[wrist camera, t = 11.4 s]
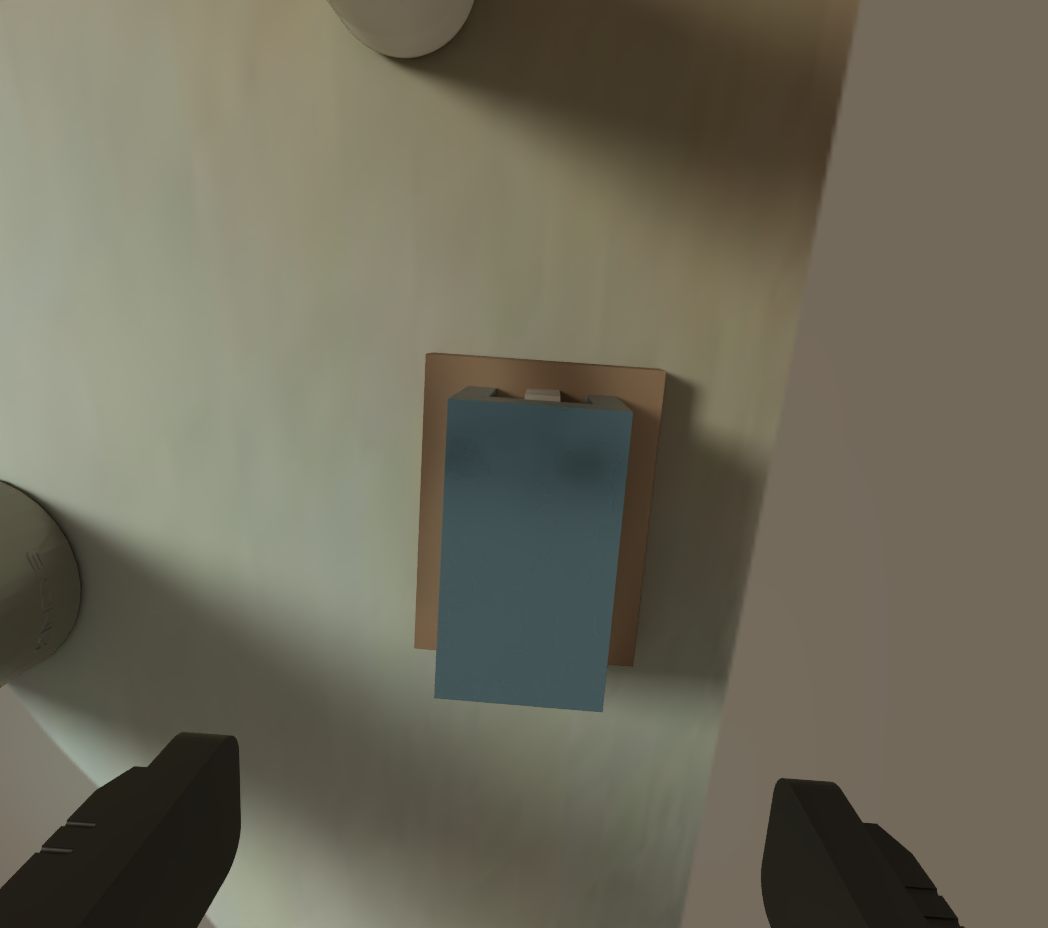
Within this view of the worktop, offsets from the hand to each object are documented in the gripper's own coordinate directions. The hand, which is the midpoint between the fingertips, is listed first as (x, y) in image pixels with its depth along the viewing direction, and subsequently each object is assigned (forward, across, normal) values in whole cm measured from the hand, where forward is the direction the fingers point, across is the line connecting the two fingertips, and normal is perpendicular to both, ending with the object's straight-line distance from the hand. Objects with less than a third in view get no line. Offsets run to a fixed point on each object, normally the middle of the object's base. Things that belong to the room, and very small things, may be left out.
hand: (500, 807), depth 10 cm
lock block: (+16, 0, 0) cm, 16 cm away
